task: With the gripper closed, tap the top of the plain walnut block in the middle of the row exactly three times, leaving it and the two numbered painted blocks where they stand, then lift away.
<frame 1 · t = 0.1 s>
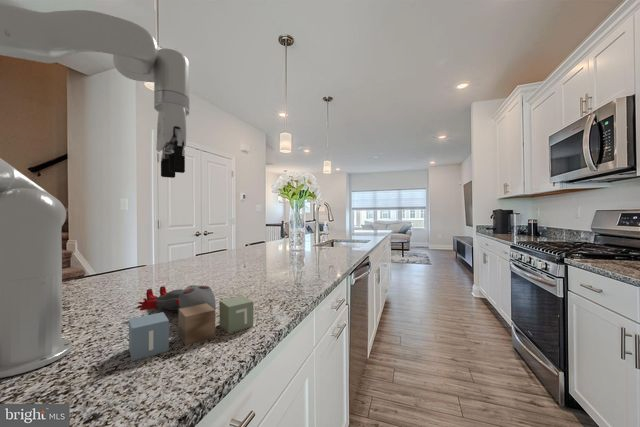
hand: (172, 174, 65), 37 cm above the countertop, tool pointing down, fingers open, 9 cm apart
slate block 1: (148, 350, 53), on the countertop
olive block 7: (236, 325, 64), on the countertop
toy: (177, 314, 73), on the countertop
walnut block: (196, 336, 59), on the countertop
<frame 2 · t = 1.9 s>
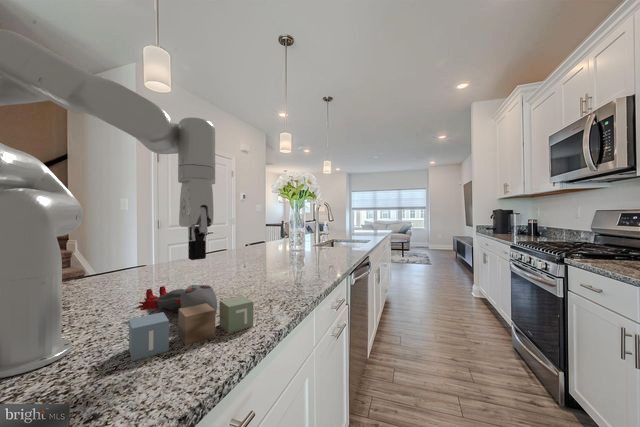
hand: (197, 258, 59), 17 cm above the countertop, tool pointing down, fingers closed
nothing on the countertop moved.
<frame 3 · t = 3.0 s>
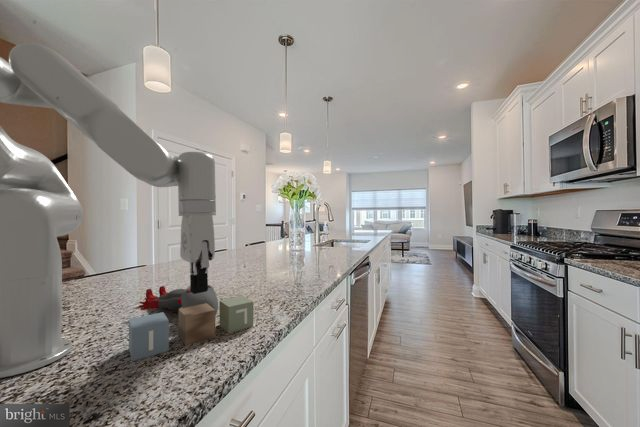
hand: (199, 291, 59), 10 cm above the countertop, tool pointing down, fingers closed
nothing on the countertop moved.
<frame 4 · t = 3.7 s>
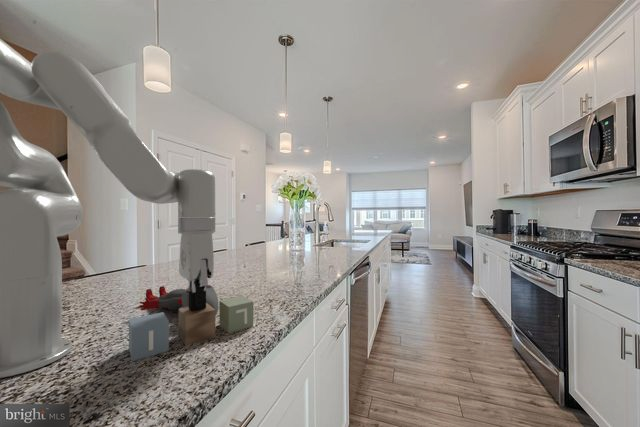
hand: (197, 309, 59), 6 cm above the countertop, tool pointing down, fingers closed
walnut block: (196, 336, 59), on the countertop, touching gripper
everything else where it was.
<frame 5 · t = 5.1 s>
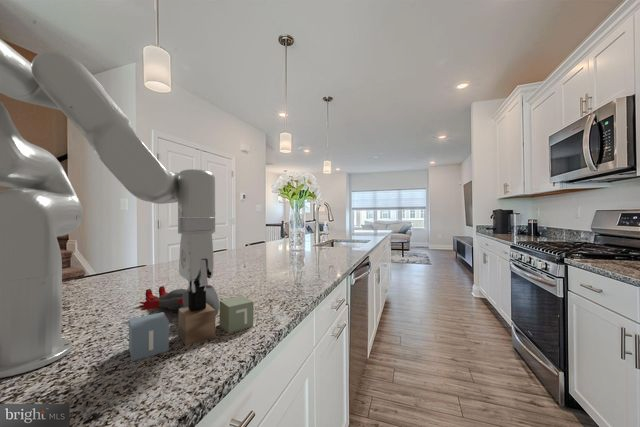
hand: (197, 309, 59), 6 cm above the countertop, tool pointing down, fingers closed
walnut block: (196, 336, 59), on the countertop
everything else where it was.
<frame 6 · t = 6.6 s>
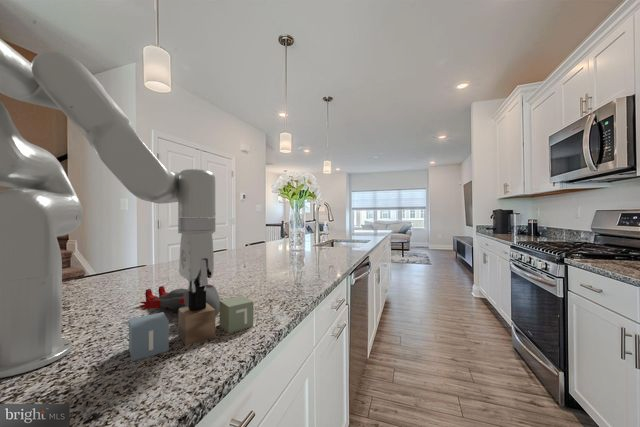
hand: (197, 308, 59), 6 cm above the countertop, tool pointing down, fingers closed
walnut block: (196, 336, 59), on the countertop, touching gripper
everything else where it was.
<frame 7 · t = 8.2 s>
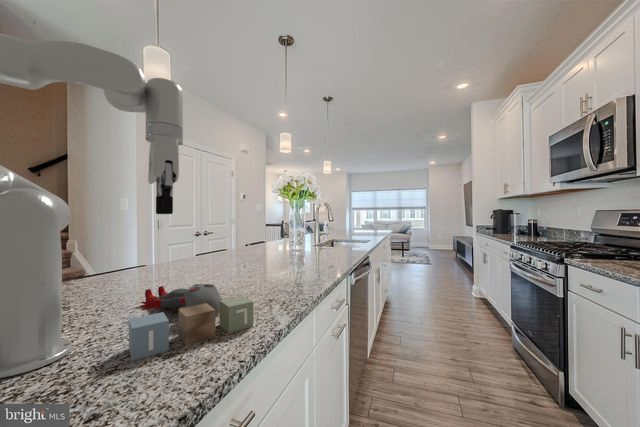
hand: (164, 213, 62), 27 cm above the countertop, tool pointing down, fingers closed
walnut block: (196, 336, 59), on the countertop
everything else where it was.
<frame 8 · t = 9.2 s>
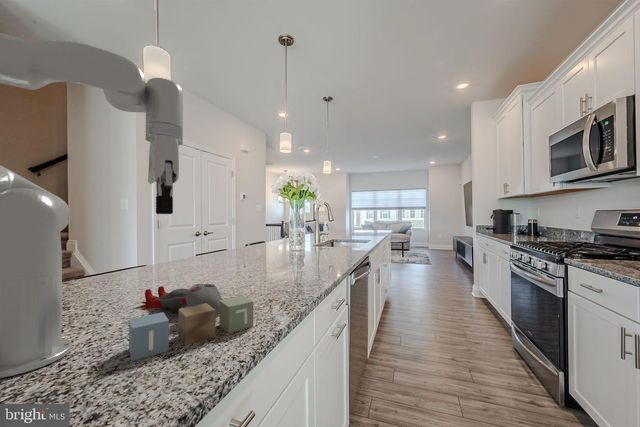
hand: (164, 213, 62), 27 cm above the countertop, tool pointing down, fingers closed
at the end: walnut block moved 0.1 cm from its start; walnut block tilted 0°; walnut block touching countertop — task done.
